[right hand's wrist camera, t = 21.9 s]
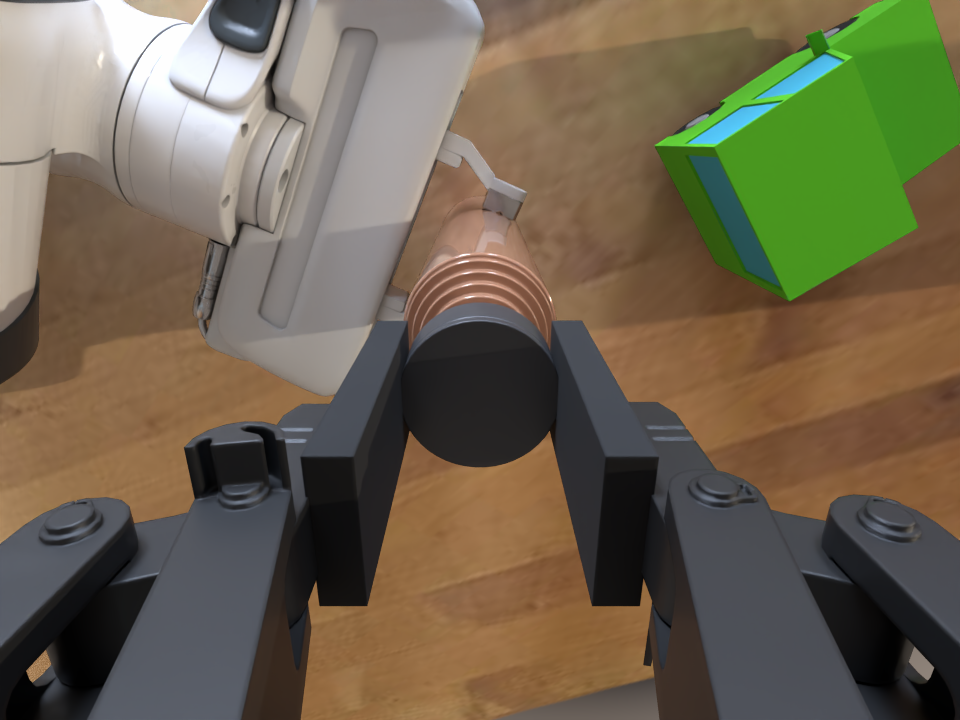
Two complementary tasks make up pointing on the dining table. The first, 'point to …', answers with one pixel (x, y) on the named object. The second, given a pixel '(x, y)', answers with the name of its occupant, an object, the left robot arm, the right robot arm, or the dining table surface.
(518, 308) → the bottle
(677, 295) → the dining table surface
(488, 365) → the cap
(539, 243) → the dining table surface
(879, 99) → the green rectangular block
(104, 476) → the dining table surface
